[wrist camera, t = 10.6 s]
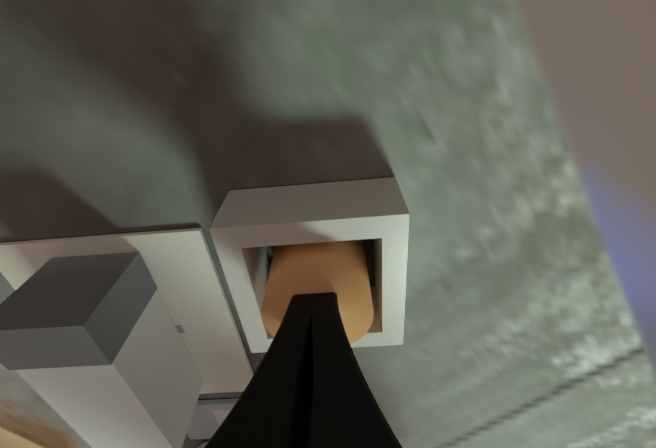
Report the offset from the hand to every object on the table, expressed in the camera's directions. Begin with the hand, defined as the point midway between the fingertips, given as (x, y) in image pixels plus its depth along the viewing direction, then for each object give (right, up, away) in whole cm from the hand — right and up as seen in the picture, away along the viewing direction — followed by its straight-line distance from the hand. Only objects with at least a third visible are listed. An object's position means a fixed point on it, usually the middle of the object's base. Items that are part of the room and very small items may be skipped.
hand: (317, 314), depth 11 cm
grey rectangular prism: (-9, -2, +5) cm, 10 cm away
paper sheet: (-9, -2, +6) cm, 10 cm away
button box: (0, +2, +3) cm, 3 cm away
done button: (0, +2, +2) cm, 3 cm away
